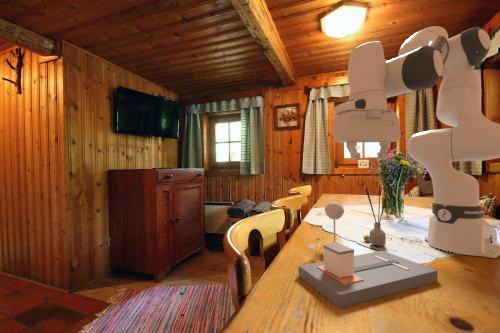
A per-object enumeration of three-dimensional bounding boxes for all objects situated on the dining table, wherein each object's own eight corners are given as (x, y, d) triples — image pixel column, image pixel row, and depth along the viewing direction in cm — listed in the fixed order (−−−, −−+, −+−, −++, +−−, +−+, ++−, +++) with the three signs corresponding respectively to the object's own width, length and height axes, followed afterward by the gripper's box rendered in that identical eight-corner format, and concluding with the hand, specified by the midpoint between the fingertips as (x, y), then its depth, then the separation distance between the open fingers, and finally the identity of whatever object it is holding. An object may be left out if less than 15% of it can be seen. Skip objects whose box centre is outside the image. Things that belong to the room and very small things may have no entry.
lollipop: (346, 245, 78) (345, 201, 79) (342, 250, 73) (342, 203, 74) (327, 242, 82) (326, 200, 82) (322, 247, 77) (322, 202, 77)
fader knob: (337, 265, 55) (337, 242, 55) (354, 274, 50) (354, 249, 50) (323, 268, 53) (323, 244, 54) (339, 278, 49) (339, 252, 49)
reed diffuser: (395, 248, 75) (394, 186, 75) (379, 251, 72) (378, 187, 73) (368, 240, 84) (368, 184, 85) (354, 242, 82) (353, 185, 82)
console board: (383, 259, 66) (382, 249, 66) (437, 281, 53) (437, 269, 53) (298, 276, 56) (298, 264, 56) (340, 308, 43) (339, 293, 43)
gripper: (385, 111, 68) (386, 158, 68) (328, 107, 60) (330, 161, 60) (406, 105, 62) (408, 157, 62) (346, 101, 54) (348, 160, 55)
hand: (369, 159), depth 61 cm, fingers open, 8 cm apart
